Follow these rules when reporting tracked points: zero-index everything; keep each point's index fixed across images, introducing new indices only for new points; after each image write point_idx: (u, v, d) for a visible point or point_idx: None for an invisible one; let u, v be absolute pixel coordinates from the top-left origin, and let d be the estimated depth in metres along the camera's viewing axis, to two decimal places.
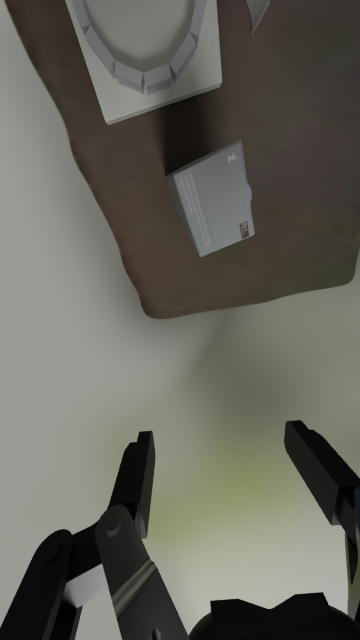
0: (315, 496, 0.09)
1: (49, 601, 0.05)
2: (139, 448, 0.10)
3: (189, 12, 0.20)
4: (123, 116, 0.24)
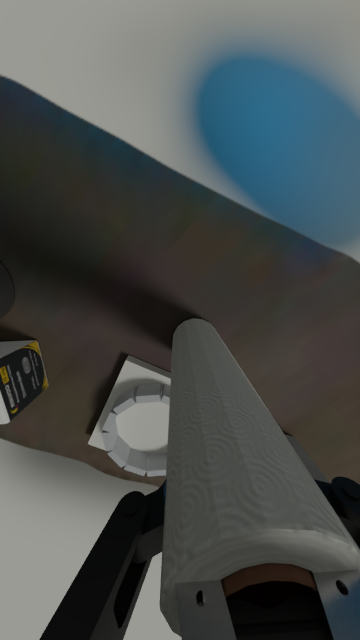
0: None
1: (125, 549, 0.06)
2: None
3: None
4: None
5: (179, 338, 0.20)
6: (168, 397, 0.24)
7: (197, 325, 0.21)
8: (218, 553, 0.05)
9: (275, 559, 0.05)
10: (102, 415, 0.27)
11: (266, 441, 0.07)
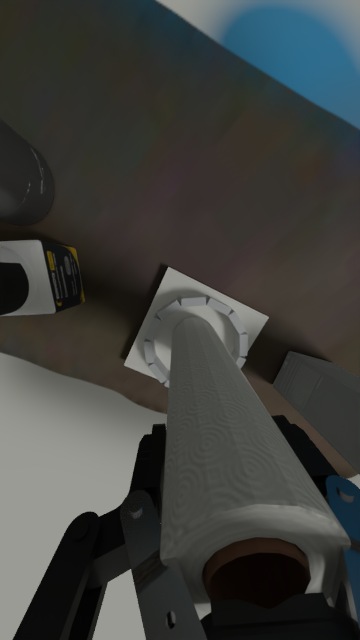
0: None
1: (77, 577, 0.06)
2: (154, 439, 0.10)
3: (223, 318, 0.26)
4: None
5: (178, 336, 0.21)
6: (215, 300, 0.23)
7: (196, 324, 0.22)
8: (210, 527, 0.05)
9: (263, 533, 0.05)
10: (140, 331, 0.26)
11: (258, 430, 0.08)
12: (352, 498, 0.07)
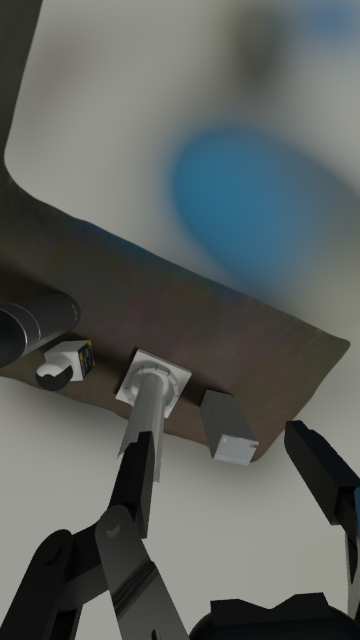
0: (315, 496, 0.09)
1: (49, 601, 0.05)
2: (139, 448, 0.10)
3: None
4: (170, 410, 0.52)
5: (140, 389, 0.44)
6: (159, 369, 0.46)
7: (149, 382, 0.45)
8: None
9: None
10: (124, 381, 0.49)
11: None
12: None
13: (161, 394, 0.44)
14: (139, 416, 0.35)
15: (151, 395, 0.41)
